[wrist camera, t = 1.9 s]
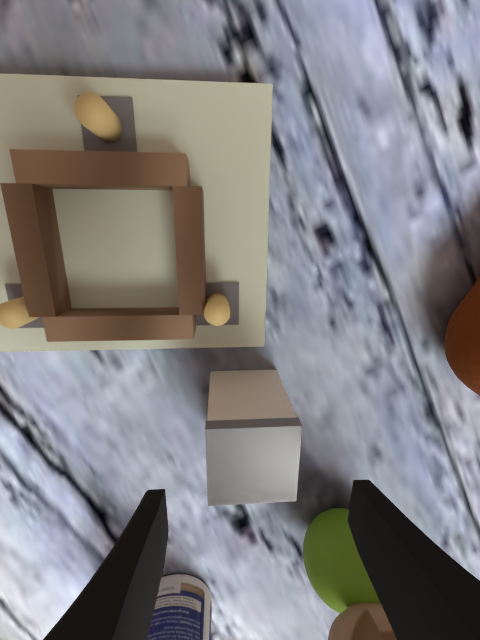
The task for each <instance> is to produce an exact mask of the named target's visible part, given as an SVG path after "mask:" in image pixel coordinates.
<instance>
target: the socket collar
mask: <svg viewBox="0 0 480 640" xmlns="http://www.w3.org/2000/svg"><path fill="white" fill-rule="evenodd" d="M9 150H10V155H11V160H12V165H13V171H14V176H15V181H16V183H0V185H1V190H2V195H3V200H4V204H5V209H6V214H7V219H8V224H9V228H10V233H11V238H12V243H13V248H14V252H15V257H16V262H17V267H18V272H19V276H20V281H21V286H22V291H23V296H24V300H25V305H26V309H27V311H28V314H29V317H42V320H43V325H44V330H45V335H46V340H47V342H70V341H127V340H183V339H194V335H195V331H196V321H195V315H204V309H205V305H206V262H205V226H204V191H203V188H202V186H190V168H189V160H188V158H187V155H186V153H156V152H112V151H68V150H24V149H9ZM52 189H103V190H172V193H173V211H174V229H175V247H176V265H177V283H178V301H179V307H158V308H72V307H71V301H70V295H69V288H68V282H67V276H66V270H65V264H64V258H63V252H62V245H61V239H60V233H59V227H58V221H57V215H56V209H55V202H54V196H53V190H52Z"/></svg>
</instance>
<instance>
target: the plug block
mask: <svg viewBox="0 0 480 640" xmlns="http://www.w3.org/2000/svg"><path fill="white" fill-rule="evenodd" d="M301 432H302V425H301V422H300V420H299V418H298V417H296V414H295V412H294V409H293V407H292V405H291V402H290V400H289V397H288V395H287V393H286V390H285V388H284V385H283V383H282V381H281V378H280V376H279V373H278V371H277V370H236V371H210V385H209V400H208V416H207V421H206V427H205V436H206V466H207V496H208V506H216V505H234V504H252V503H270V502H289V501H296V497H297V484H298V471H299V458H300V445H301Z"/></svg>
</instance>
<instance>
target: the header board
mask: <svg viewBox="0 0 480 640" xmlns="http://www.w3.org/2000/svg"><path fill="white" fill-rule="evenodd" d="M272 88H273V84H264V83H238V82H212V81H186V80H160V79H134V78H108V77H82V76H56V75H30V74H4V73H0V183H16V181H15V176H14V171H13V165H12V160H11V155H10V150H9V149H24V150H68V151H112V152H156V153H186V155H187V158H188V160H189V168H190V186H202V188H203V191H204V226H205V262H206V305H205V309H204V315H195V321H196V331H195V335H194V339H183V340H127V341H70V342H47V340H46V335H45V330H44V325H43V320H42V317H29V314H28V311H27V309H26V305H25V300H24V296H23V291H22V286H21V281H20V276H19V272H18V267H17V262H16V257H15V252H14V248H13V243H12V238H11V233H10V228H9V224H8V219H7V214H6V209H5V204H4V200H3V195H2V190H1V185H0V352H18V351H69V350H120V349H171V348H222V347H264V344H265V312H266V280H267V248H268V216H269V184H270V152H271V120H272ZM52 190H53V196H54V202H55V209H56V215H57V221H58V227H59V233H60V239H61V245H62V252H63V258H64V264H65V270H66V276H67V282H68V288H69V295H70V301H71V307H72V308H158V307H179V301H178V283H177V265H176V247H175V229H174V211H173V193H172V190H103V189H52Z"/></svg>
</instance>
